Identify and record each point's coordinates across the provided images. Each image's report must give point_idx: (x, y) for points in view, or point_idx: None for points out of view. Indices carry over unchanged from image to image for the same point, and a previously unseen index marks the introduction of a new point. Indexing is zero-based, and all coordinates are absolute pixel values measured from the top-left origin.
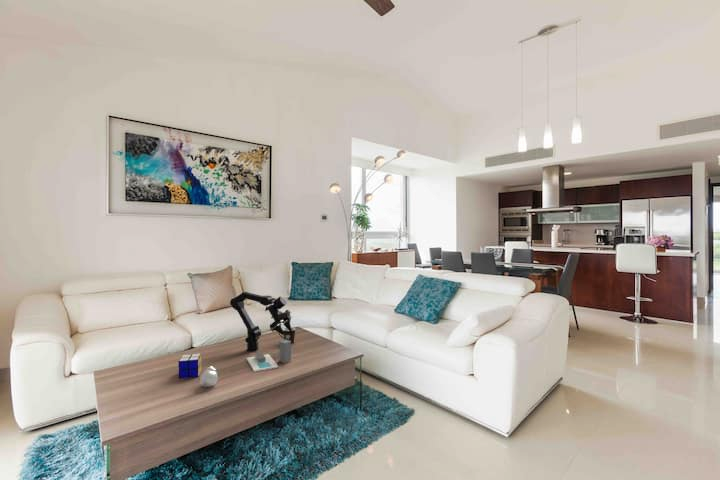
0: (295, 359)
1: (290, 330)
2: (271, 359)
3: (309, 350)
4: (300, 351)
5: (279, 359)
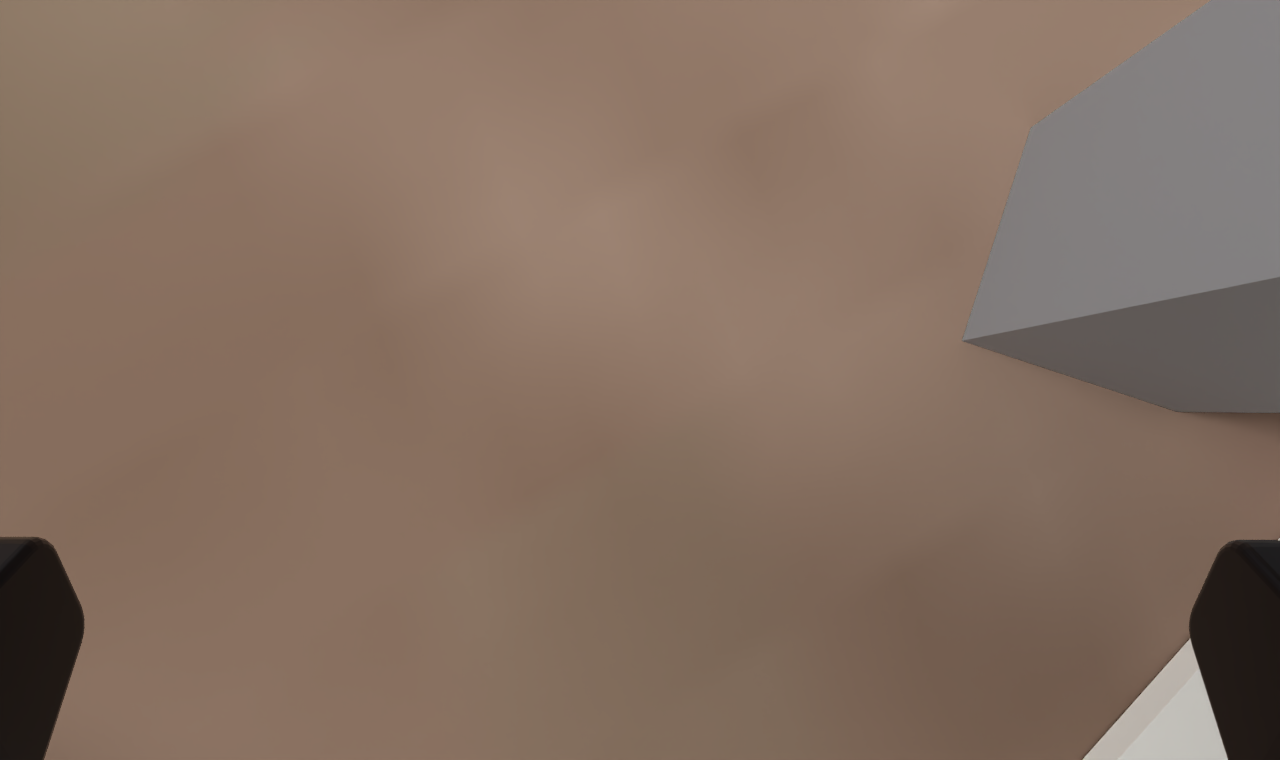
0: (896, 55)
1: (46, 628)
2: None
3: (104, 10)
4: (272, 227)
5: (1207, 408)
